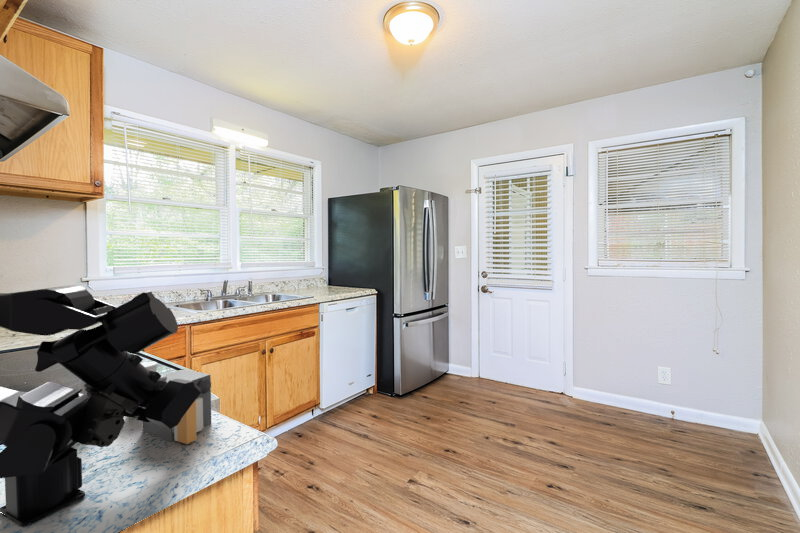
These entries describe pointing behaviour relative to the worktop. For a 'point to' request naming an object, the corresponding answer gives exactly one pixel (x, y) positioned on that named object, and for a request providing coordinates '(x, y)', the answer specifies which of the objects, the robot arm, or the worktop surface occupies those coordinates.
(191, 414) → the wooden upright post
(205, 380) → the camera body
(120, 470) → the worktop surface
